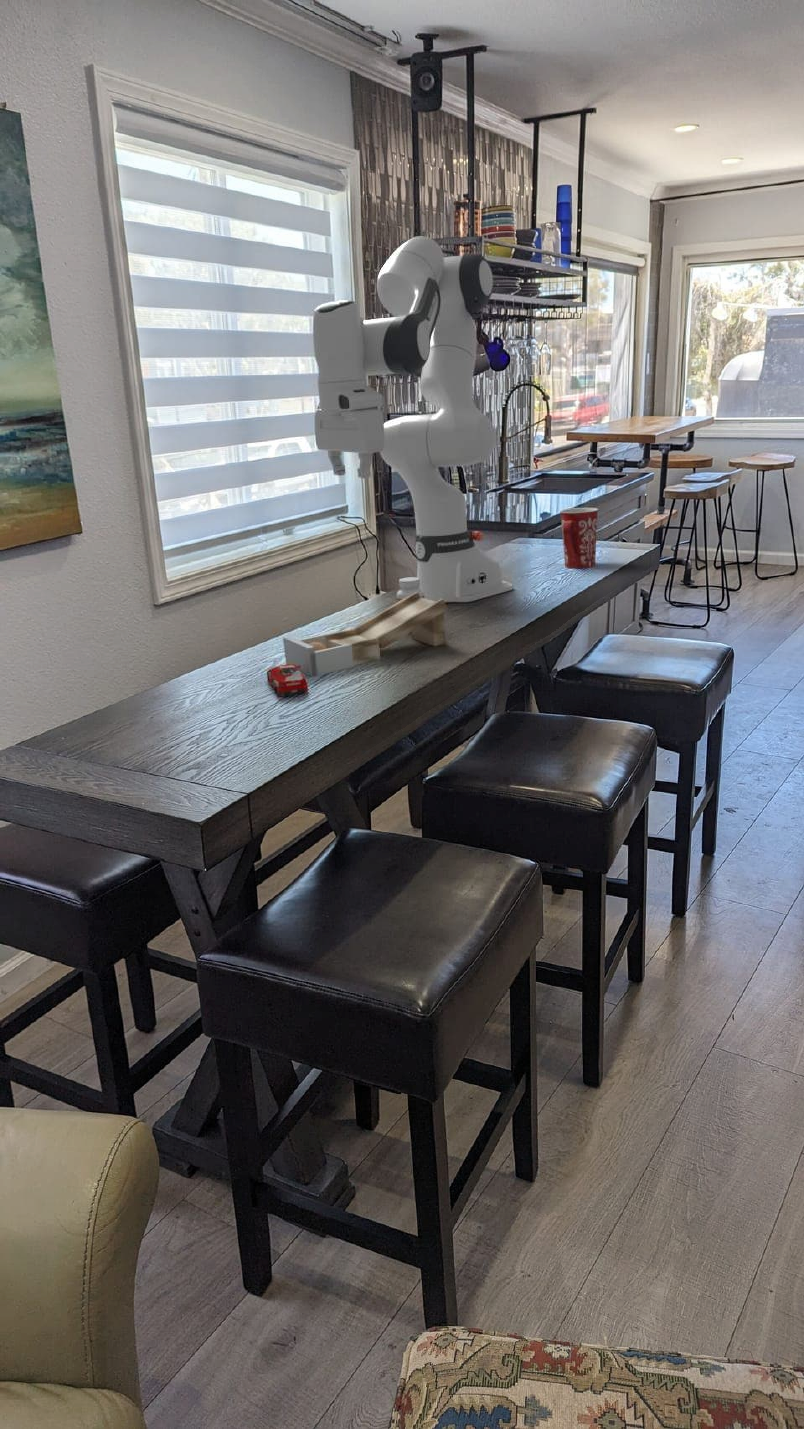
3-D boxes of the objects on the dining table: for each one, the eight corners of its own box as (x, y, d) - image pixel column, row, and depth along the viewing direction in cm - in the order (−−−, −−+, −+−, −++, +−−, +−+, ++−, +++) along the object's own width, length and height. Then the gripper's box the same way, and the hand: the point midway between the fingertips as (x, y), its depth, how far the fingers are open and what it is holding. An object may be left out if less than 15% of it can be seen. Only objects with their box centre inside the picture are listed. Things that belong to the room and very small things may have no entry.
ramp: (422, 634, 188) (419, 590, 185) (449, 643, 180) (446, 598, 177) (327, 655, 179) (322, 610, 176) (351, 666, 171) (346, 618, 168)
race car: (265, 680, 168) (262, 658, 167) (297, 675, 169) (294, 653, 168) (277, 701, 156) (274, 677, 155) (311, 696, 157) (308, 672, 156)
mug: (571, 561, 246) (569, 507, 242) (604, 562, 241) (604, 507, 237) (548, 571, 237) (546, 514, 232) (582, 573, 231) (581, 515, 227)
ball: (314, 635, 173) (325, 655, 175) (294, 649, 172) (306, 669, 174) (325, 639, 170) (336, 659, 172) (305, 653, 168) (317, 674, 170)
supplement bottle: (423, 630, 191) (420, 581, 188) (396, 631, 192) (392, 582, 189) (428, 624, 196) (425, 575, 193) (402, 624, 197) (398, 576, 194)
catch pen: (327, 655, 179) (324, 628, 178) (353, 666, 171) (351, 639, 169) (286, 664, 175) (282, 637, 174) (311, 676, 167) (307, 648, 165)
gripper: (302, 400, 183) (311, 475, 188) (355, 399, 167) (363, 482, 171) (332, 397, 186) (340, 471, 191) (387, 395, 170) (394, 477, 174)
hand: (351, 476), depth 181 cm, fingers open, 8 cm apart
